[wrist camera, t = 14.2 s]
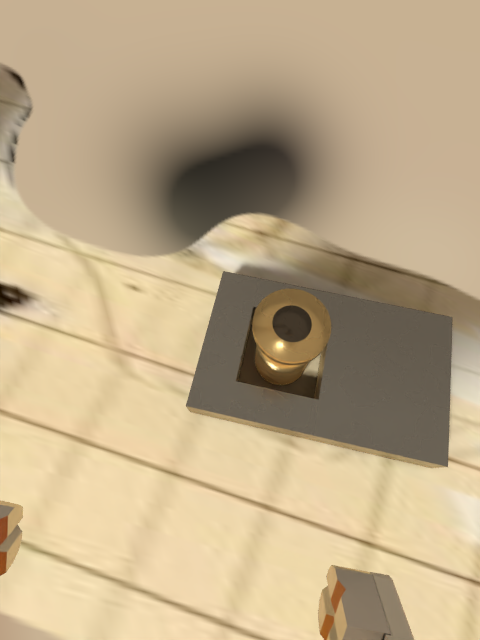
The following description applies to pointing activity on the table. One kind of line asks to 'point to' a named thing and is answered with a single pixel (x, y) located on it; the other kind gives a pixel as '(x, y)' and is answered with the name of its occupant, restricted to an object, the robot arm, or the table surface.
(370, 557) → the table surface
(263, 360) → the bushing
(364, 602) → the robot arm
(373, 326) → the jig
